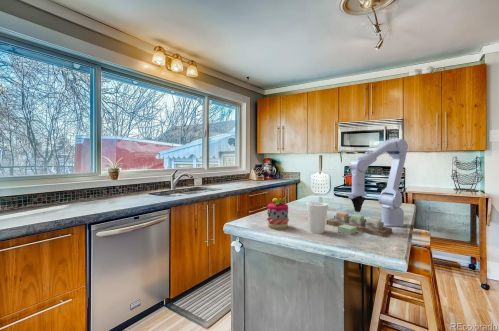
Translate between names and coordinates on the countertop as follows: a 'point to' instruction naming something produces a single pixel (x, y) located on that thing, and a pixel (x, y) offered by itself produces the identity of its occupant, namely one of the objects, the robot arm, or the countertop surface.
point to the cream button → (374, 220)
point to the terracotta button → (342, 214)
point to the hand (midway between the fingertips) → (357, 211)
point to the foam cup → (317, 216)
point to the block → (347, 229)
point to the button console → (361, 225)
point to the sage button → (357, 217)
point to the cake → (278, 214)
